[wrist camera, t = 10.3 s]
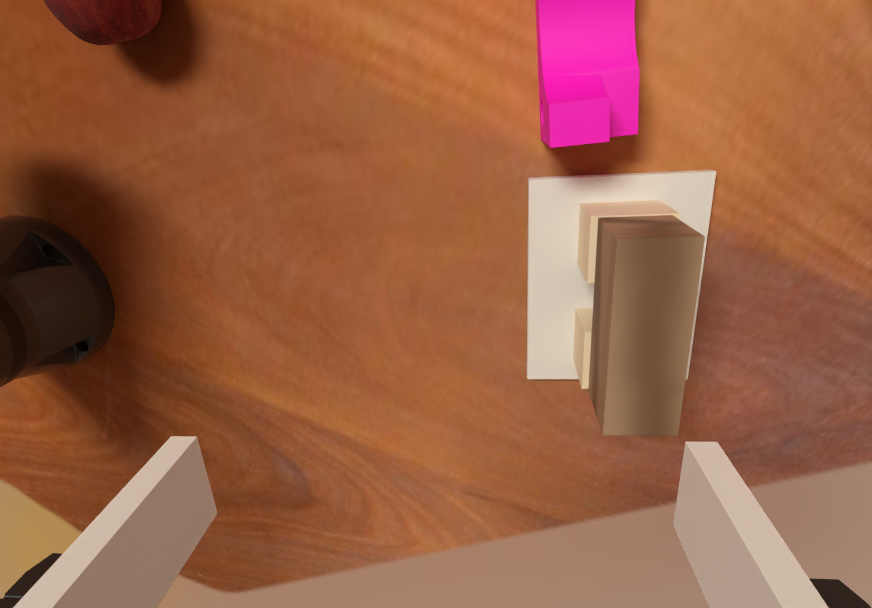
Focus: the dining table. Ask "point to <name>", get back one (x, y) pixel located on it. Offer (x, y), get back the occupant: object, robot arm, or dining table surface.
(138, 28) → the apple
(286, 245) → the dining table surface
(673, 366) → the lintel block
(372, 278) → the dining table surface
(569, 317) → the post board
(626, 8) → the toy block
